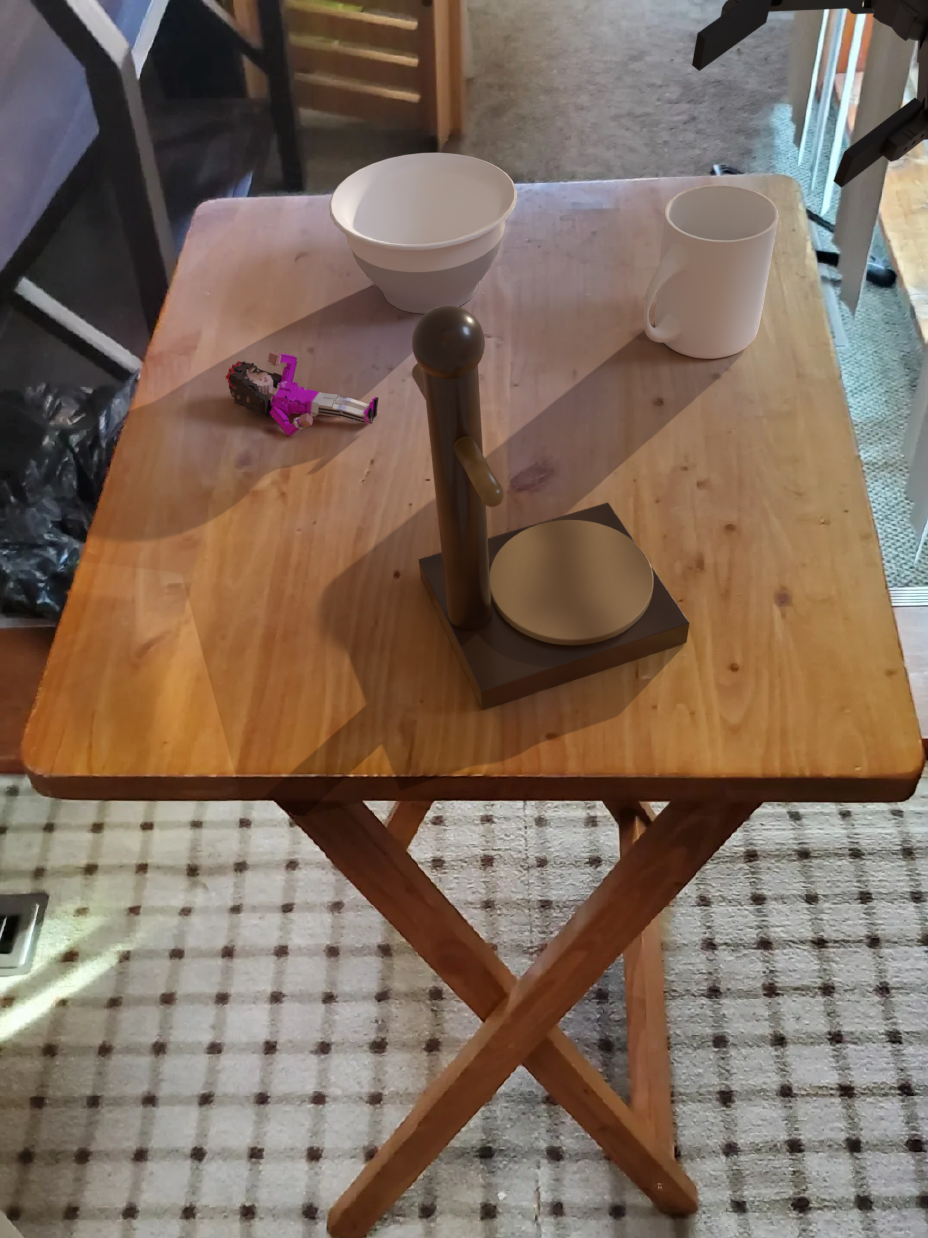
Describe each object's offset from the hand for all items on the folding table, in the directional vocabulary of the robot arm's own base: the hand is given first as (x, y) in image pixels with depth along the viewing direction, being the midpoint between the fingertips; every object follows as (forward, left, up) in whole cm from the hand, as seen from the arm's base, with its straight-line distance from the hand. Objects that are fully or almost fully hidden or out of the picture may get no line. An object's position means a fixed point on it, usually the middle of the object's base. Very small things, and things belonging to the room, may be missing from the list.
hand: (768, 110), depth 73 cm
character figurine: (+31, +15, -20) cm, 40 cm away
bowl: (+27, -5, -20) cm, 34 cm away
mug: (+3, -2, -20) cm, 21 cm away
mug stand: (+7, +30, -20) cm, 37 cm away
